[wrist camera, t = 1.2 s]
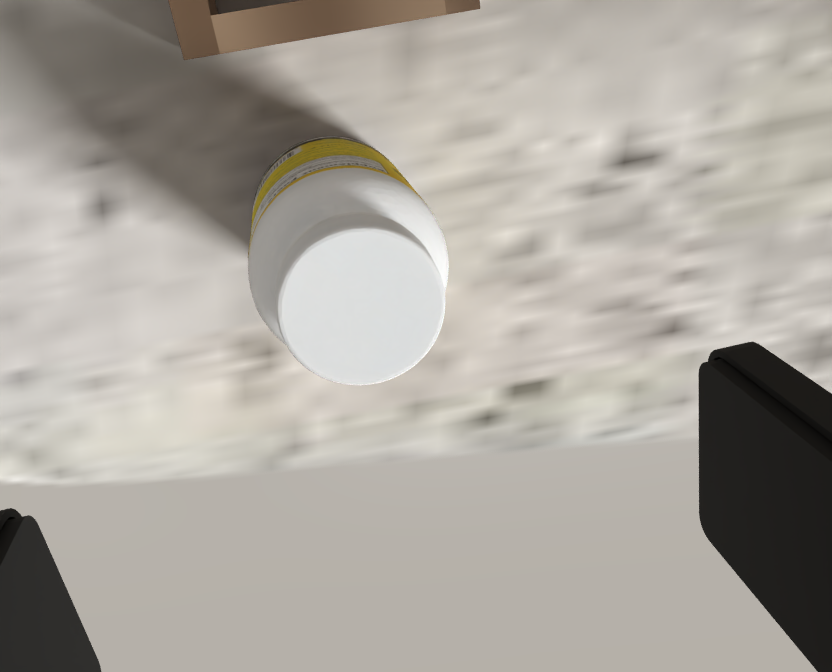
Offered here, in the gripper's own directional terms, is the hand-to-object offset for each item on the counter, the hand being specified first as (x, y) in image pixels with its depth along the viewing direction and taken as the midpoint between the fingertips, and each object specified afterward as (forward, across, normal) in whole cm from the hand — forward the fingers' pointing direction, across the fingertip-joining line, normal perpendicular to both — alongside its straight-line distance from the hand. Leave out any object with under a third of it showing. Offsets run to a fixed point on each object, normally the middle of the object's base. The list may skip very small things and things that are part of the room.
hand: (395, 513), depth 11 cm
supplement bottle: (+18, 0, 0) cm, 18 cm away
